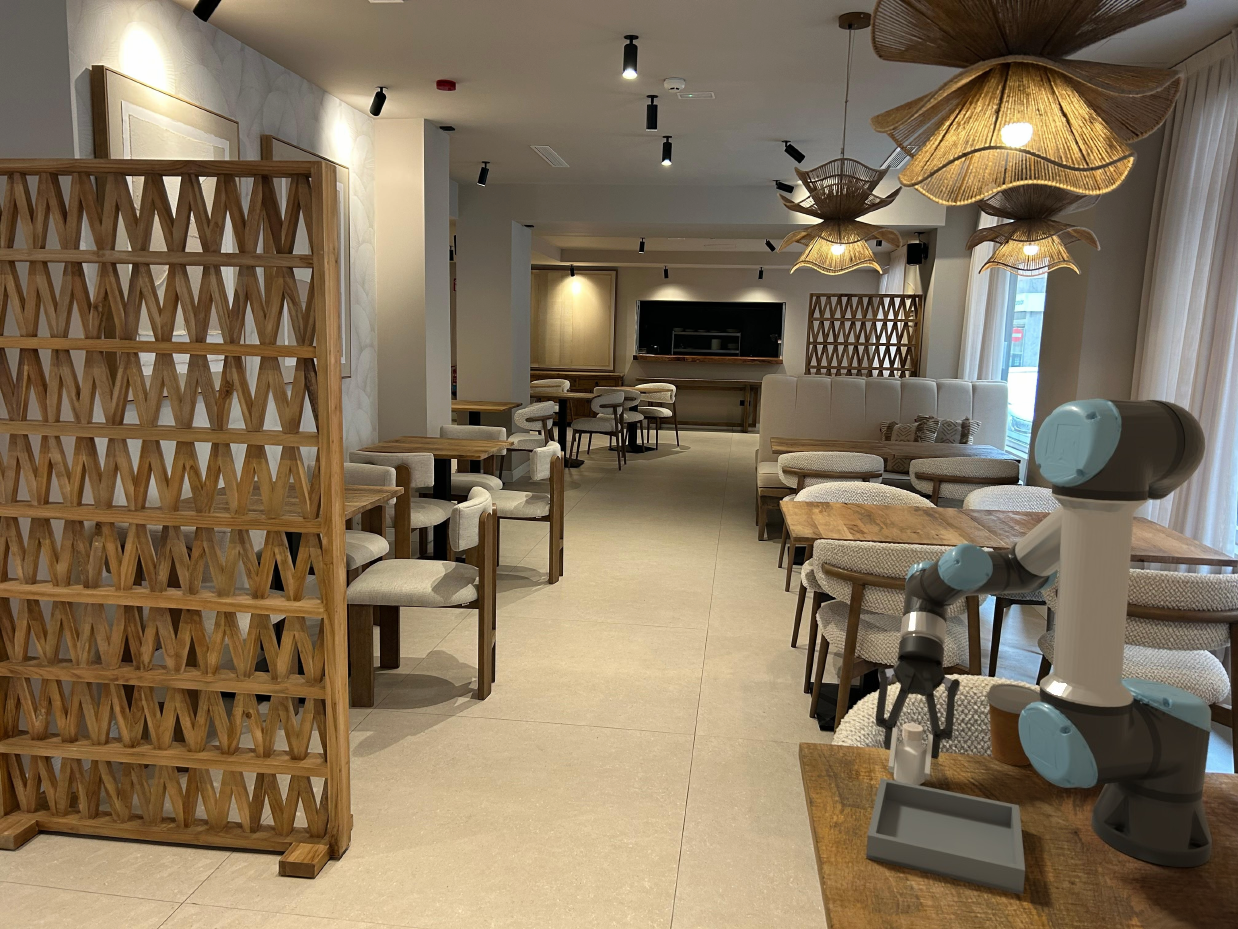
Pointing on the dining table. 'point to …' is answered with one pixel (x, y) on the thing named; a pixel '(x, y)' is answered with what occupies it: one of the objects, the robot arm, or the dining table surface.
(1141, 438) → the robot arm
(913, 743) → the pepper shaker
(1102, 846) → the dining table surface
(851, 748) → the dining table surface
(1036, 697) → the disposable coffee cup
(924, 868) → the box
